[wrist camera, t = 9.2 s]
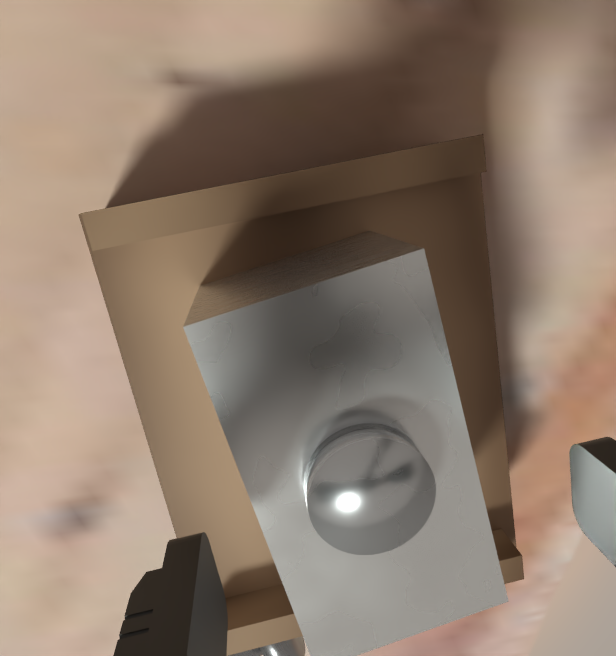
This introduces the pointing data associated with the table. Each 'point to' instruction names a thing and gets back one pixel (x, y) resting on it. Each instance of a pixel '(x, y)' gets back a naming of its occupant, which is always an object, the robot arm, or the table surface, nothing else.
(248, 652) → the bolt
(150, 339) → the brown wooden tray
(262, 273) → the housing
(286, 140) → the table surface
